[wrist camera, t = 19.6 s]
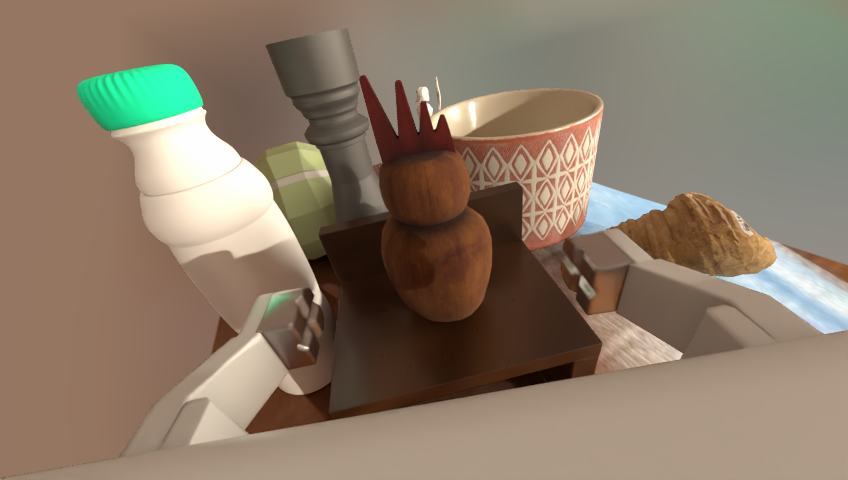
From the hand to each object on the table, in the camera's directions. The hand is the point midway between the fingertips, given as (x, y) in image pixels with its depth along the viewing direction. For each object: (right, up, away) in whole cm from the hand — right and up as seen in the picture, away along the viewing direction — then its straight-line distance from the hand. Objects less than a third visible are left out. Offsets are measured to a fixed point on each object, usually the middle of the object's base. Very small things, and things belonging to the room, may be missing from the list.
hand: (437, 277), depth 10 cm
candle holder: (-4, -5, +26) cm, 27 cm away
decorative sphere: (-15, 0, +36) cm, 39 cm away
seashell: (+25, -2, +22) cm, 33 cm away
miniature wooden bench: (+2, -10, +17) cm, 20 cm away
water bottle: (-11, -11, +20) cm, 25 cm away
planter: (+12, +4, +34) cm, 36 cm away
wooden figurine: (+1, -3, +12) cm, 13 cm away
